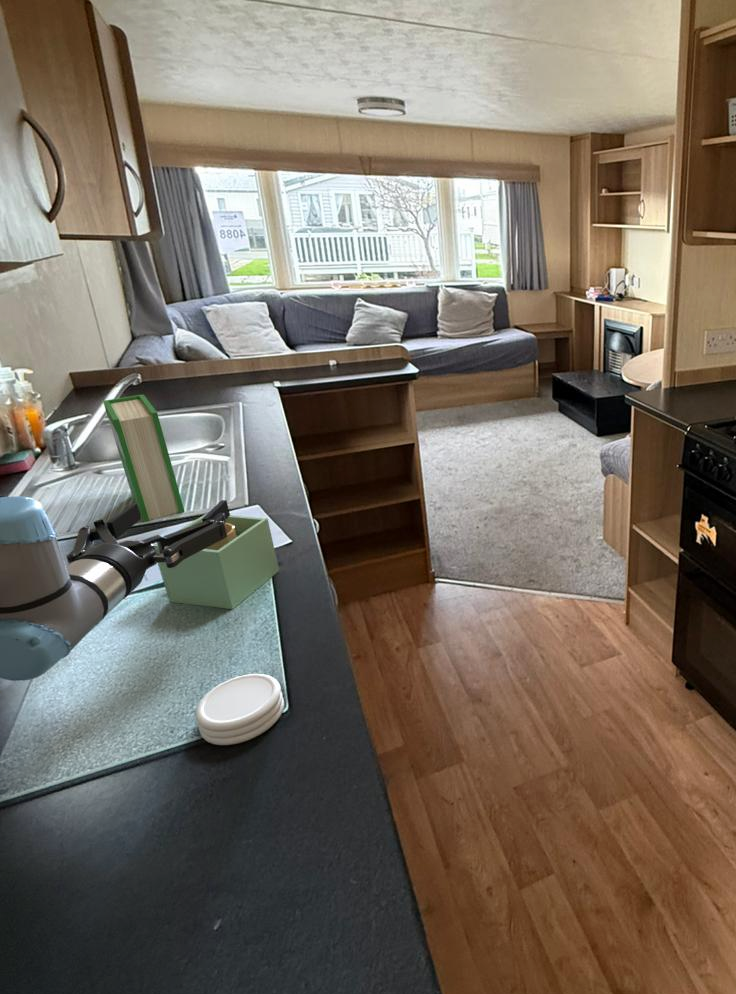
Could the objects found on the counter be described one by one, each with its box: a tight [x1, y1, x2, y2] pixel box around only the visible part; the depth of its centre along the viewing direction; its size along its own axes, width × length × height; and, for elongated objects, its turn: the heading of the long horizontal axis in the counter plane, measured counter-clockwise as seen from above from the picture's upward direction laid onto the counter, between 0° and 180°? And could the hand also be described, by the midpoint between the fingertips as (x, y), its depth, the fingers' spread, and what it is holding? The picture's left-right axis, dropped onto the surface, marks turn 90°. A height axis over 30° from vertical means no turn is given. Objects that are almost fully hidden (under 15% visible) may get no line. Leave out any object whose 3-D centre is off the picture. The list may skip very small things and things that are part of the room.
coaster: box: [194, 673, 285, 746], centre depth 86 cm, size 10×10×4 cm
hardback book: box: [102, 394, 186, 523], centre depth 141 cm, size 18×7×24 cm, turn 41°
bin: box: [153, 512, 280, 610], centre depth 114 cm, size 12×12×11 cm
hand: (181, 509), depth 103 cm, fingers open, 13 cm apart
